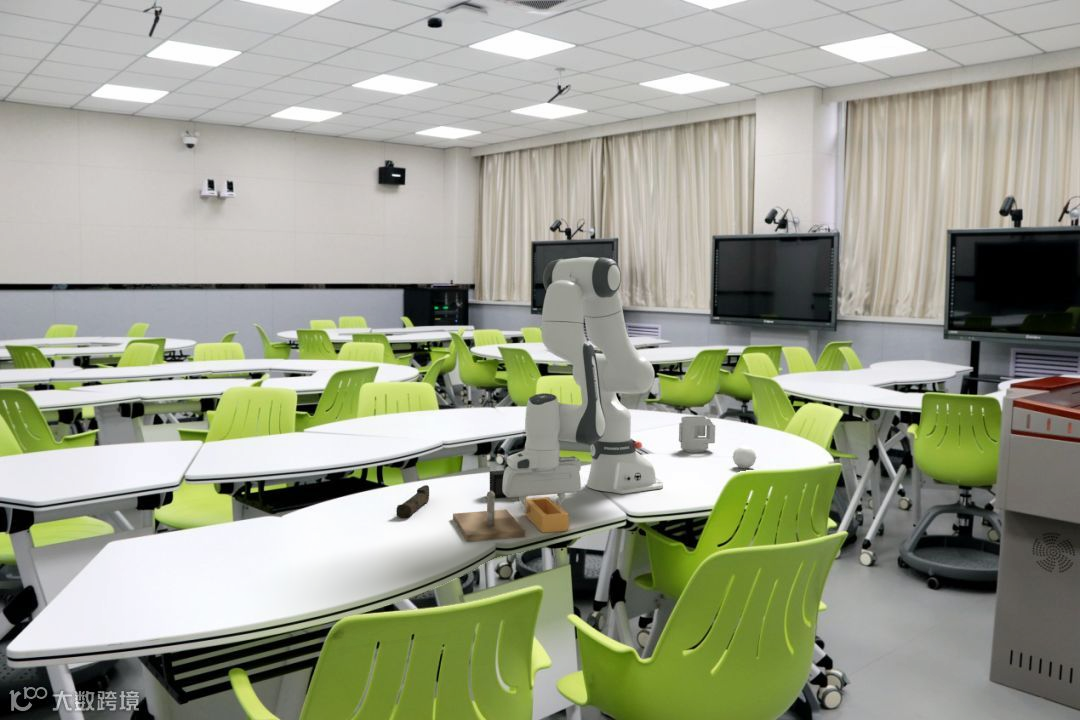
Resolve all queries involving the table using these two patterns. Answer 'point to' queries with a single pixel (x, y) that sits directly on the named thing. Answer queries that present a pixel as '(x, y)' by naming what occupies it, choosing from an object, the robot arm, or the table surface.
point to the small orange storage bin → (547, 515)
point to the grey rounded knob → (744, 457)
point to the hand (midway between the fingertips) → (541, 511)
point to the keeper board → (485, 532)
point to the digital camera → (497, 483)
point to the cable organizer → (696, 433)
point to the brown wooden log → (413, 502)
